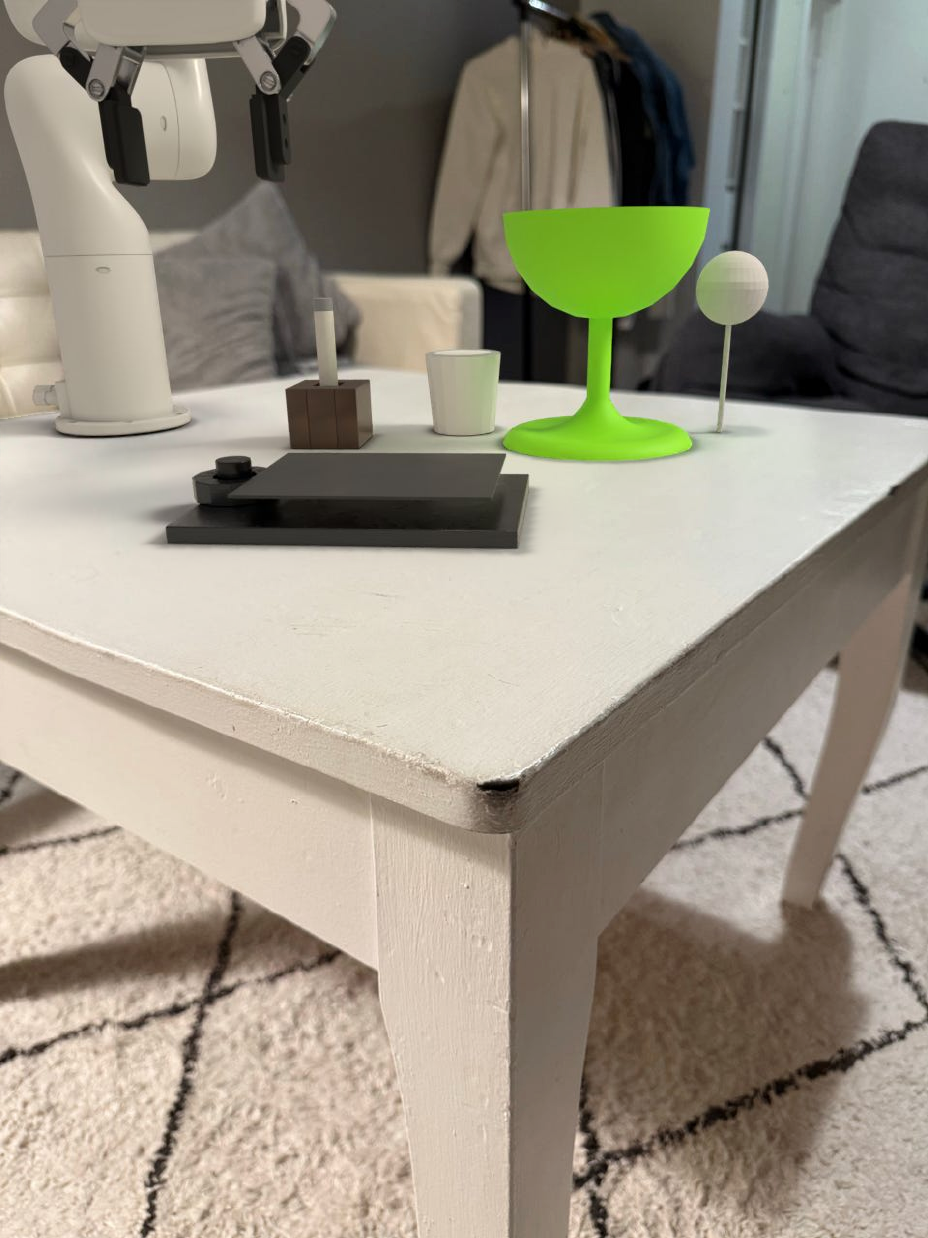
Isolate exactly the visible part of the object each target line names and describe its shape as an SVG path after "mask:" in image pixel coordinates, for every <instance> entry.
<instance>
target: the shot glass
mask: <svg viewBox="0 0 928 1238" xmlns="http://www.w3.org/2000/svg"><path fill="white" fill-rule="evenodd" d="M424 355H425V362H426V363H425V364H426V365H425V366H426V372H427V380H428V389H429V397H430V405H431V414H432V423H433V430H434V432H435V433H437V434H440V435H445V436H446V435H447V436H475V435H477V436H478V435H484V434H489V433H493V432H494V431H495V426H496V413H497V401H498V391H499V390H498V389H499V378H500V377H499V376H500V365H501V355H502V353H501V351H497V350H494V349H488V348H487V349H486V348H451V349H440V350H434V351H429V352H426V353H425V354H424Z"/></svg>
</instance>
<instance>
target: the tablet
mask: <svg viewBox="0 0 928 1238" xmlns="http://www.w3.org/2000/svg"><path fill="white" fill-rule="evenodd" d="M266 468H267V467H266V466H265V467H264V466H259V465H257V466H256V465H252V472H253V477H254V476H256V475H257V474H258V473H260V472H261V471H263V470H264V469H266ZM253 477H249V478H245V479H237V480H218V479H217V473H216V468H212V469H209V470H205V471H200V472H199V473H197V474H195V475H194V476H192V477H191V483H192V488H193V496H194V497H193V498H194V500H195V502H197V505H195V506H194V507H193V508H191V509H190V510H188V511H187V512H185V513H184V514H182V515H181V516H179V517H178V518H176V519H175V520H174V521H172V522H171V523H169V524H168V525H166V526H165V533H166V534H165V535H166V542H167V544H171V545H172V544H174V545H175V544H177V545H179V544H180V545H181V544H182V545H236V546H237V545H238V546H239V545H240V546H241V545H243V546H244V545H245V546H309V547H311V546H313V547H314V546H315V547H373V548H374V547H377V548H379V547H380V548H383V547H384V548H439V549H441V548H445V549H451V548H452V549H456V548H457V549H458V548H459V549H509V550H511V549H513V550H515V549H518V548H519V543H520V539H521V533H522V527H523V523H524V517H525V511H526V506H527V501H528V496H529V490H530V474H529V473H500V476H499V479H498V482H497V485H496V488H495V491H494V495H493V498H492V501H450V500H342V499H233V498H228V496H227V495H228V494H230V493H231V492H233V491H234V490H236V489H237V488H238V487H240V486H241V485H243V484H244V483H246V482H247V481H248V480H250V479H251V478H253Z"/></svg>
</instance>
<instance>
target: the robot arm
mask: <svg viewBox="0 0 928 1238" xmlns="http://www.w3.org/2000/svg"><path fill="white" fill-rule="evenodd" d="M287 3H288V4H289V5H290V6H291V7H293V8H294V9H295V10H296V11H297V12H298V14H299V21H298V23H297V26H296V28H295V31H294V34H293V35H292V36H291V37H290V38H289V39H287V34H288V18H287V17H288V15H287V14H288V13H287ZM3 4H4V6H5V11H6V12H7V15H8V17H9V20H10V21H11V23H12V25H13V26H14V28H15V29H16V31H17V32H18V33H19V34H20V35H22V37H23V38H25V39H26V40H28V41H30V42H31V43H34V44H38V45H40V46H44V47H47V48H48V50H49V51H50V52H51V53H52V54H51V53H49V54H47V53H46V54H39V55H33V56H28V57H27V58H24V59H22V60H20V61H18V62H16V63H15V64H14V65H13V66H12V67H11V68H10V69H9V72H8V74H7V75H6V77H5V80H4V87H3V97H4V98H3V99H4V105H5V112H6V115H7V120H8V122H9V126H10V130H11V132H12V136H13V139H14V142H15V145H16V148H17V151H18V155H19V157H20V160H21V164H22V167H23V170H24V173H25V174H24V175H25V177H26V182H27V185H28V188H29V193H30V196H31V201H32V205H33V209H34V213H35V214H34V215H35V219H36V223H37V228H38V234H39V240H40V245H41V251H42V252H41V253H42V257H43V262H44V267H45V273H46V279H47V285H48V289H49V296H50V301H51V307H52V308H51V309H52V312H53V313H52V314H53V319H54V325H55V330H56V335H57V341H58V346H59V352H60V358H61V364H62V371H63V376H64V379H61V380H58V381H55V382H54V384H35V386H34V387H33V389H32V395H31V397H32V402H33V404H34V405H35V406H41V407H43V406H56V407H58V410H59V415H58V416H57V417H55V418H54V425H55V429H56V430H57V431H58V432H59V433H62V434H66V435H74V436H91V437H92V436H94V437H96V436H97V437H99V436H101V437H102V436H103V437H104V436H121V435H134V434H135V435H137V434H143V433H152V432H159V431H165V430H170V429H174V428H178V427H181V426H184V425H186V424H188V423H189V422H191V419H192V418H191V410H190V409H189V408H188V407H186V406H181V405H174V403H173V395H172V388H171V382H170V373H169V367H168V366H169V365H168V358H167V352H166V343H165V336H164V330H163V322H162V315H161V314H162V313H161V307H160V300H159V291H158V284H157V278H156V277H157V276H156V271H155V270H156V269H155V262H154V255H153V247H152V242H151V241H152V240H151V236H150V233H149V231H148V228H147V226H146V223H145V222H144V220H143V219H142V217H141V215H139V213H138V212H137V210H136V209H135V208H134V207H133V206H132V205H131V203H129V201H128V200H126V198H125V197H124V196H123V195H122V194H121V192H119V190H118V189H117V188H116V187H115V185H114V184H113V182H116V184H119V185H125V186H131V187H138V188H139V187H147V186H148V185H149V184H150V183H151V181H189V180H195V179H199V178H202V177H204V176H206V175H207V174H208V173H209V172H210V171H211V170H212V168H213V166H214V164H215V162H216V157H217V148H218V139H217V137H218V136H217V124H216V117H215V110H214V105H213V98H212V91H211V86H210V80H209V75H208V74H209V73H208V69H207V63H206V59H221V58H222V59H225V58H227V59H228V58H241V60H242V61H243V63H244V65H245V67H246V69H247V70H248V71H249V74H250V75H251V77H252V78H253V80H254V82H255V86H254V87H255V88H254V89H255V93H254V94H251V98H249V101H248V106H249V114H250V115H249V116H250V127H251V137H252V147H253V157H254V158H253V159H254V168H255V175H256V177H257V178H259V179H260V180H263V181H266V182H271V183H284V182H285V181H286V180H285V179H286V175H285V174H286V173H285V166H287V165H289V166H290V165H291V162H292V147H291V137H290V136H291V134H290V123H289V110H288V109H289V108H288V102H290V101H291V100H292V99H293V97H294V94H295V90H296V88H297V86H298V85H299V84H300V83H301V81H303V79H304V78H305V76H306V75H307V73H308V72H309V71H310V69H311V68H312V67H313V65H314V64H315V62H316V59H317V55H318V53H319V52H320V49H322V47H323V46H324V44H325V42H326V40H327V38H328V37H329V35H330V33H331V31H332V30H333V28H334V26H335V24H336V22H337V19H338V14H337V12H336V11H337V10H336V9H335V8H334V7H333V6H332V5H331V4H330V3H329V2H328V1H327V0H3ZM286 40H287V41H286ZM281 47H282V48H281ZM279 48H281V49H280V50H279V52H278V53H277V55H276V53H275V51H276V50H278V49H279ZM87 52H94V53H95V55H94V56H91V54H89V53H87Z"/></svg>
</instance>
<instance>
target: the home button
mask: <svg viewBox="0 0 928 1238" xmlns="http://www.w3.org/2000/svg"><path fill="white" fill-rule="evenodd" d="M214 464H215V469H216V473H217V479H218V480H237V479H245V478H249V477H253V472H252V466H253V465H252V458H251V457H250V456H248V455H247V456H246V455H227V456H223V457H218V458H216V459H215V461H214Z"/></svg>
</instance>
